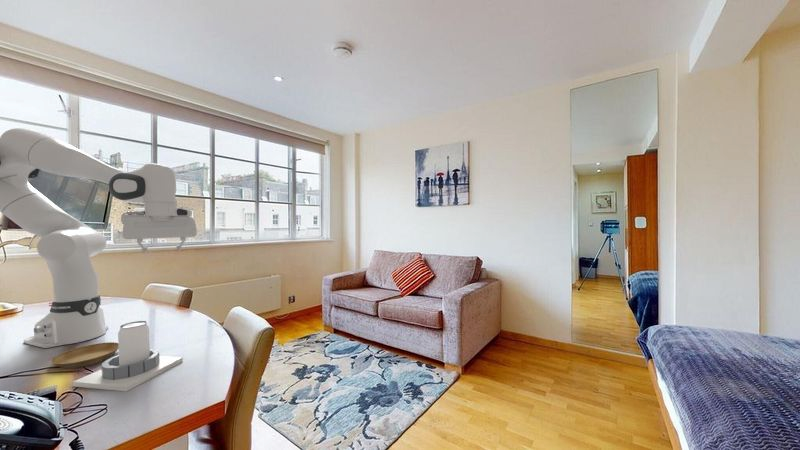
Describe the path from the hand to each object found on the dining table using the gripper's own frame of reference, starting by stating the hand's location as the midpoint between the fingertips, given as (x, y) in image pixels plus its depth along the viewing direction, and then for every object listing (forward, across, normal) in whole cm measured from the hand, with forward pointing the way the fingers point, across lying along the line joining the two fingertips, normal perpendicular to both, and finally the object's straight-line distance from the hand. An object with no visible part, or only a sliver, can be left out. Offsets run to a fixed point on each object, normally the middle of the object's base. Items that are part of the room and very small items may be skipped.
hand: (162, 251), depth 106 cm
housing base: (+31, -6, -23) cm, 39 cm away
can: (+30, -6, -23) cm, 38 cm away
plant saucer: (+32, -18, -4) cm, 37 cm away
